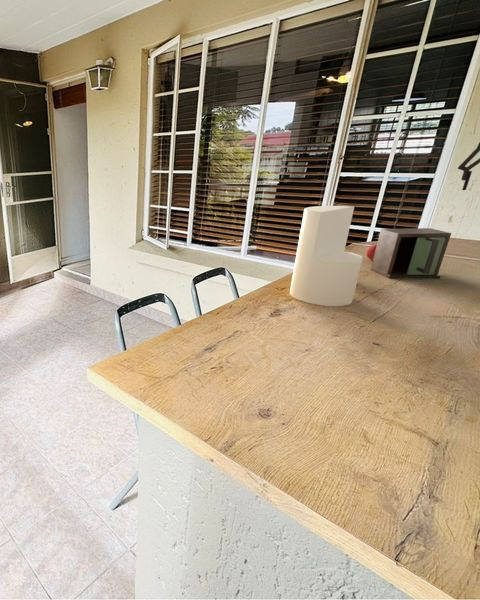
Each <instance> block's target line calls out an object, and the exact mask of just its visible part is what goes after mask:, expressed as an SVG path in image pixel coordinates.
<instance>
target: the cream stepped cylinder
mask: <svg viewBox="0 0 480 600" xmlns="http://www.w3.org/2000/svg"><path fill="white" fill-rule="evenodd" d="M354 211H355V206H353V205H352V206H351V205H317V206H316V205H315V206H308V207H305V208H304V209H303V216H302V220H301V227H300V231H299V239H298V244H297V249H296V255H295V260H294V266H293V271H292V276H291V277H292V278H291V283H290V289H289V295H290V296H291V297H292V298H293V299H295V300H298V301H300V302H304V303H307V304H311V305H318V306H324V307H341V306H342V307H344V306H348V305H351V304H352V303H353V301H354V297H355V292H356V288H357V285H358V281H359V277H360V272H361V269H362V264H363V262H364V261H363V260H364V257H363V256H362V255H360V254H358V253H356V252H350V251H346V250H345V249H346V246H347V241H348V237H349V233H350V228H351V224H352V220H353V215H354Z"/></svg>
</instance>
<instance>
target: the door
mask: <svg viewBox="0 0 480 600" xmlns="http://www.w3.org/2000/svg"><path fill="white" fill-rule="evenodd" d="M444 241H445V237H420V238H417V241H416V245H415V248H414V251H413V255H412V258H411V261H410V265H409V268H408V271H407V274H408V275H434V272H435V269H436V266H437V263H438V260H439V257H440V254H441V250H442V247H443V244H444Z"/></svg>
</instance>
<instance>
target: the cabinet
mask: <svg viewBox="0 0 480 600" xmlns="http://www.w3.org/2000/svg"><path fill="white" fill-rule="evenodd" d="M451 236H452V232H448V231H444V230H439V229H434V228H432V227H423V228H422V227H421V228H418V227H417V228H381V229H380V231H379V235H378V240H377V243H376V244H377V247H376V251H375V255H374V258H373V261H371V262H372V263H371V267H370V270H371V271H373V272H375V273H377V274H379V275H381V276H384V277H385V278H387V279H433V280H434V279H435V280H436V279H438V280H439V279H441V277H442V275H440V274H439V272H440V269H441V266H442V263H443V261H444V260H443V259H444V257H445V253H446V251H447V248H448V245H449V242H450V238H451ZM420 237H445V241H444V244H443V247H442V250H441V254H440V257H439V260H438V263H437V266H436V269H435V272H434V275H408V274H407V271H408V268H409V265H410V261H411V258H412V255H413V251H414V248H415V245H416V241H417V238H420Z"/></svg>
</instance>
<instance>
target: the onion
mask: <svg viewBox="0 0 480 600" xmlns="http://www.w3.org/2000/svg"><path fill="white" fill-rule="evenodd" d="M376 247H377V243H375V244H373V245H371V246H369V247H368V248H367V249H366V251H365V255H366V258H367V259H369V260H370V261H371V262H373V258H374V255H375V251H376Z"/></svg>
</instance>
